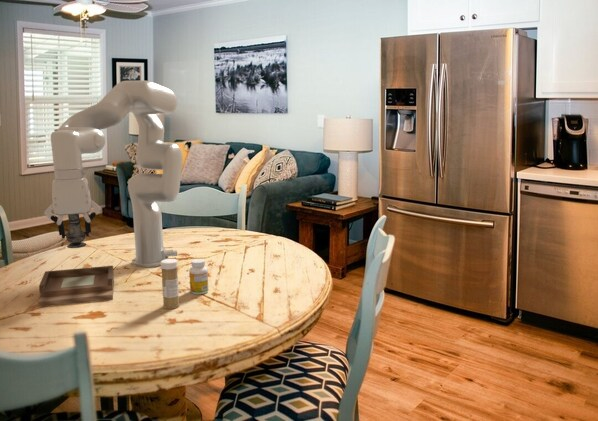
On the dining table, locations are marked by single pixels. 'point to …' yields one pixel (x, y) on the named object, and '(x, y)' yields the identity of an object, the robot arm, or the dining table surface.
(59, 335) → the dining table surface
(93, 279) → the wooden tray
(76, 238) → the salt shaker
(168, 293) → the sprinkles bottle
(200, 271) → the supplement bottle
